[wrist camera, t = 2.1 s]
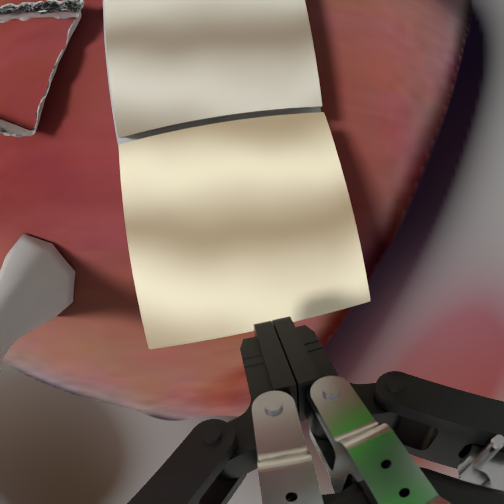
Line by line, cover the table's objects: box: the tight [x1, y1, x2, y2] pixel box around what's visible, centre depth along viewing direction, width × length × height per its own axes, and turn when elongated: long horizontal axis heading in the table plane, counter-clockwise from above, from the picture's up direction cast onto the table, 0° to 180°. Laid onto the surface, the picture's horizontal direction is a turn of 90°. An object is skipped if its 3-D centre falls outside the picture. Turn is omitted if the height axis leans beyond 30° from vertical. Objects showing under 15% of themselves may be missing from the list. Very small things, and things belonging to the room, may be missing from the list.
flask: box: [0, 234, 75, 371], centre depth 15 cm, size 7×7×10 cm
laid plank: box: [104, 0, 322, 138], centre depth 13 cm, size 11×12×2 cm
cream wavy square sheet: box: [119, 112, 371, 349], centre depth 16 cm, size 11×12×2 cm
